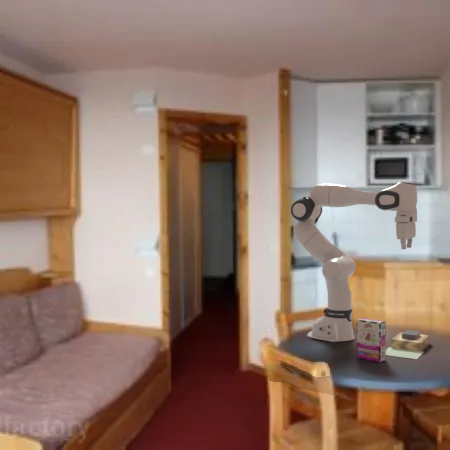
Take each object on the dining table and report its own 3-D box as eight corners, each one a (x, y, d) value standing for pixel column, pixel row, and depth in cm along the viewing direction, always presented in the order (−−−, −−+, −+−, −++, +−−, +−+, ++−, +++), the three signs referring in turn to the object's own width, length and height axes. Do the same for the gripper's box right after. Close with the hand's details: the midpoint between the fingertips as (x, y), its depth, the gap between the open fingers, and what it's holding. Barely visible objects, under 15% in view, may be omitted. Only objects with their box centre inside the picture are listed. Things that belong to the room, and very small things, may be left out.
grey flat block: (401, 338, 249) (401, 333, 249) (406, 334, 256) (406, 329, 256) (415, 339, 246) (415, 335, 246) (420, 335, 253) (420, 331, 253)
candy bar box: (386, 360, 228) (386, 321, 227) (380, 363, 224) (380, 323, 224) (362, 355, 236) (362, 317, 235) (356, 357, 232) (356, 319, 231)
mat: (380, 354, 236) (380, 354, 236) (389, 347, 247) (389, 347, 247) (416, 359, 229) (416, 359, 229) (423, 352, 240) (423, 351, 240)
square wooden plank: (391, 348, 247) (391, 339, 247) (400, 340, 261) (400, 332, 260) (421, 352, 240) (421, 343, 240) (429, 344, 254) (429, 335, 254)
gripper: (405, 217, 259) (405, 246, 260) (393, 218, 242) (393, 249, 243) (419, 217, 256) (419, 247, 257) (408, 218, 239) (408, 250, 239)
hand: (406, 248), depth 249 cm, fingers open, 8 cm apart
